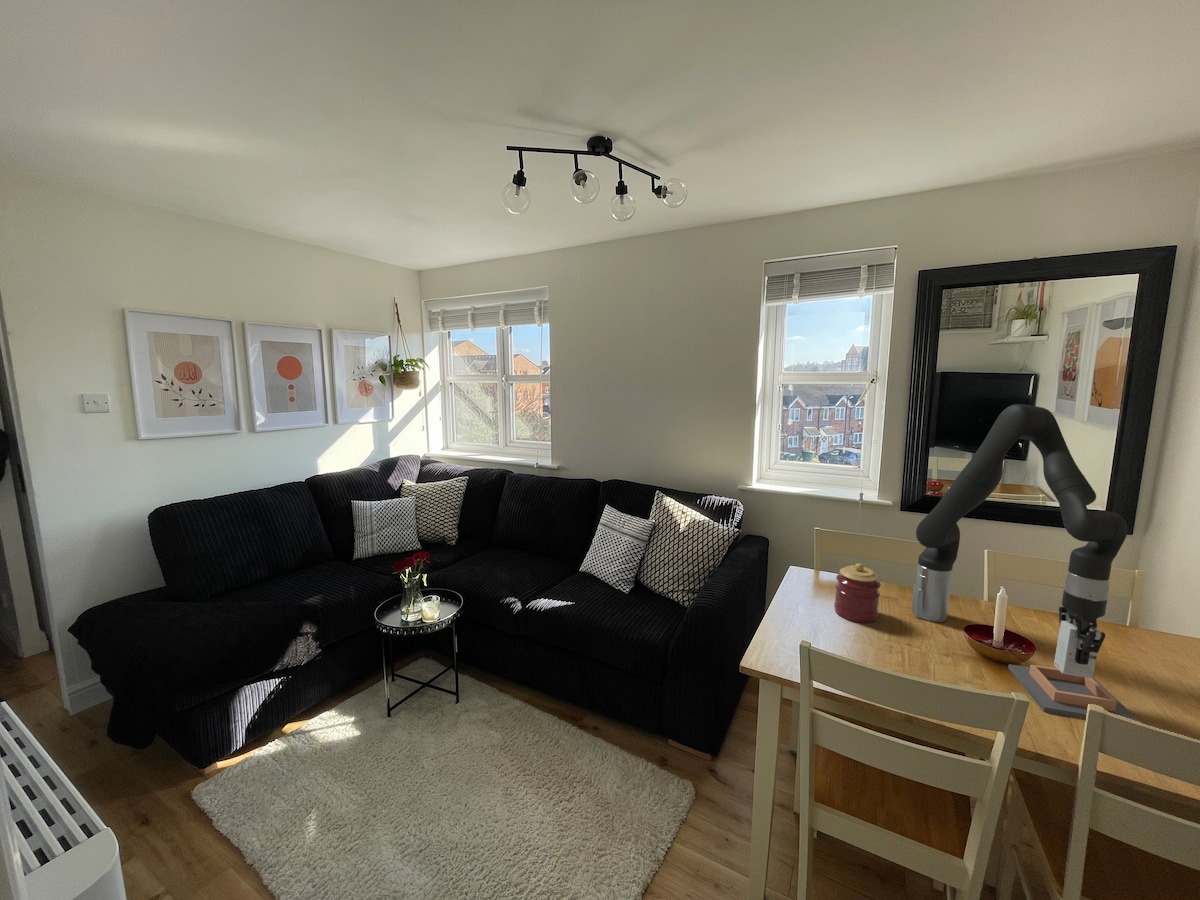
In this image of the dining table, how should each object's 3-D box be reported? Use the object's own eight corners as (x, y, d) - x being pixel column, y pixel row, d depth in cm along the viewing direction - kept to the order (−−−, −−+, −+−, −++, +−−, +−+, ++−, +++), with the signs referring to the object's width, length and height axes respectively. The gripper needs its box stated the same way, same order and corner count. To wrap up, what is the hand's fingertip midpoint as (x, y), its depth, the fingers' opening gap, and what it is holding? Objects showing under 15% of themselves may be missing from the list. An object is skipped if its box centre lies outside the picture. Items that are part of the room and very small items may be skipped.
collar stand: (1043, 711, 116) (1045, 697, 115) (1008, 668, 133) (1009, 655, 132) (1141, 728, 110) (1144, 713, 110) (1091, 680, 127) (1093, 667, 127)
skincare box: (1063, 674, 120) (1070, 628, 118) (1052, 664, 124) (1059, 619, 122) (1094, 679, 118) (1102, 632, 116) (1082, 668, 122) (1090, 623, 120)
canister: (879, 610, 165) (883, 561, 162) (876, 627, 154) (881, 574, 151) (836, 601, 172) (840, 553, 169) (831, 617, 161) (835, 566, 158)
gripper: (1049, 578, 125) (1040, 640, 128) (1084, 603, 112) (1073, 671, 115) (1086, 582, 123) (1076, 645, 126) (1126, 607, 110) (1114, 677, 112)
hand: (1075, 657), depth 120 cm, fingers closed on skincare box, 4 cm apart
